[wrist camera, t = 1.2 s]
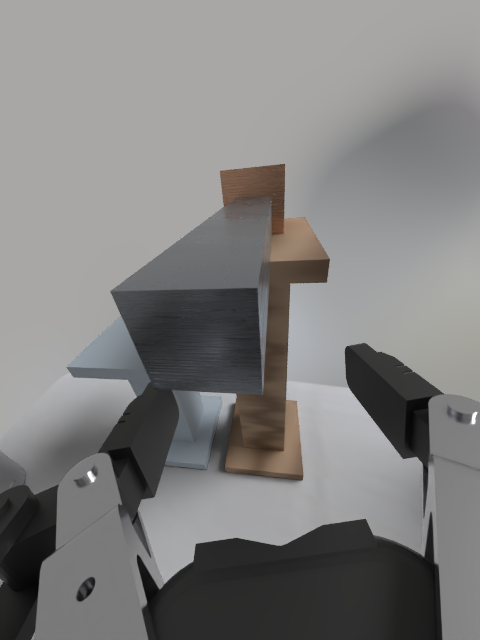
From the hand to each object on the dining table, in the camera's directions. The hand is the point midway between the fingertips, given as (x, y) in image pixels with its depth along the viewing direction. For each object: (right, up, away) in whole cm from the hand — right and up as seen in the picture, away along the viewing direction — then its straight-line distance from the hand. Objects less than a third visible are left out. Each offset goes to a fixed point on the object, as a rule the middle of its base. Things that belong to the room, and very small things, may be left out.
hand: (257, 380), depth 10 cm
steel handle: (0, +7, +6) cm, 9 cm away
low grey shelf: (-10, -16, +30) cm, 35 cm away
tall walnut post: (+3, -16, +27) cm, 32 cm away
